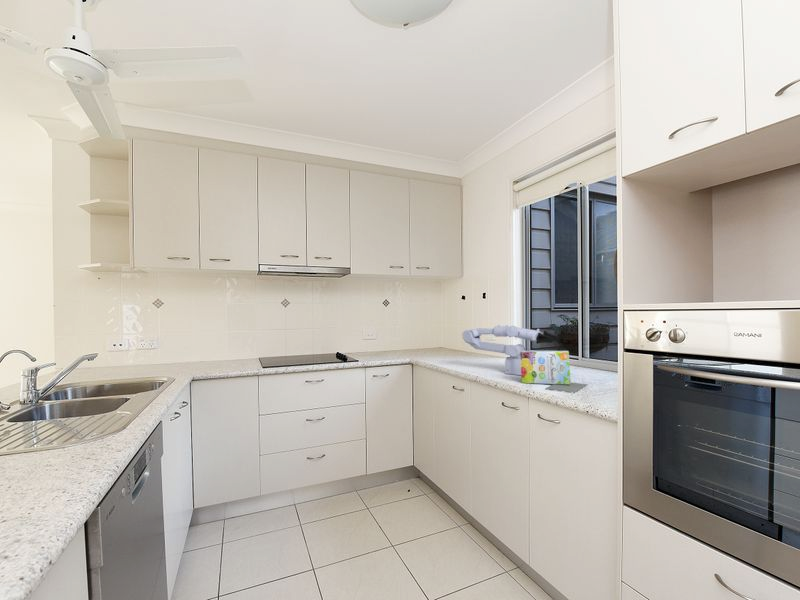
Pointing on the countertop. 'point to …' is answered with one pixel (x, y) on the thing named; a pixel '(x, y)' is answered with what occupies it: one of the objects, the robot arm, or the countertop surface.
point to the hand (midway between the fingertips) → (554, 339)
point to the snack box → (545, 367)
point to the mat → (567, 387)
